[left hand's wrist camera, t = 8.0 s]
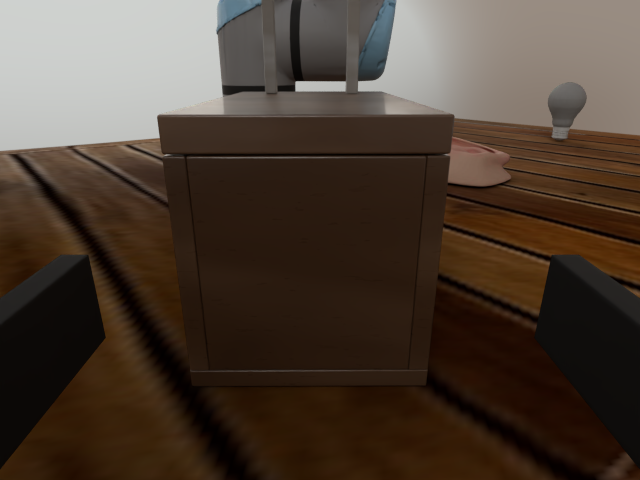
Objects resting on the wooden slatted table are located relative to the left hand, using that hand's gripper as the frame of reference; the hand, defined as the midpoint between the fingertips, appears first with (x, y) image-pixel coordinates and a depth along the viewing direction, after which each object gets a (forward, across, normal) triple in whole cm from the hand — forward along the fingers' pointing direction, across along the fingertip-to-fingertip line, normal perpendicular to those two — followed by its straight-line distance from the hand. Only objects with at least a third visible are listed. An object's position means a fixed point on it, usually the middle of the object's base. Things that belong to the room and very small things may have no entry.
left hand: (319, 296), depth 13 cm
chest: (+12, 0, -6) cm, 13 cm away
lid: (+12, -1, +3) cm, 12 cm away
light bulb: (+70, +44, -6) cm, 83 cm away
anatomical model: (+43, +18, -6) cm, 47 cm away
